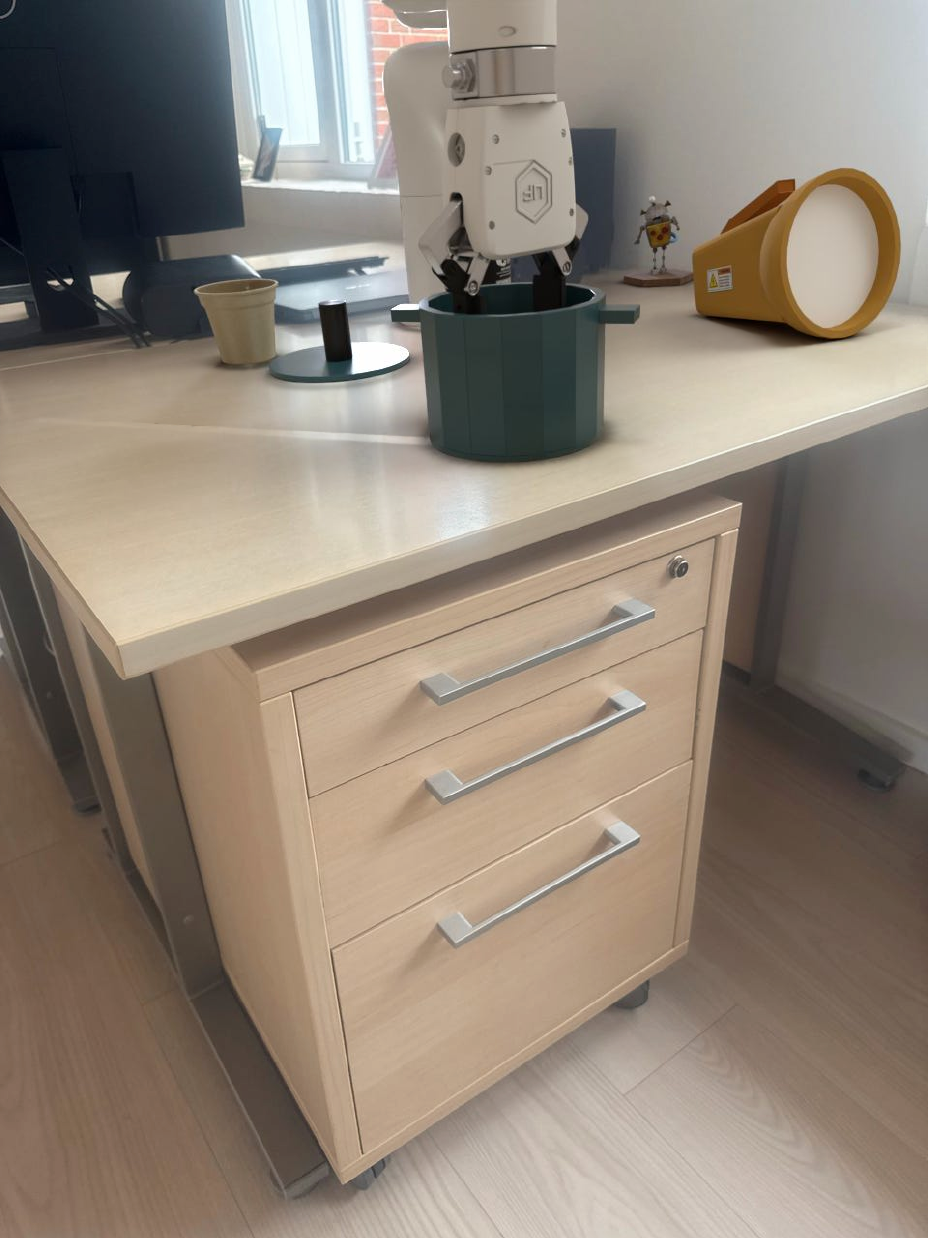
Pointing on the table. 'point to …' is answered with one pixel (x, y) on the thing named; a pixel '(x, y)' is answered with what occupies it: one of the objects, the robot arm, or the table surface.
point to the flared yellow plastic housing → (804, 256)
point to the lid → (338, 353)
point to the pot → (515, 371)
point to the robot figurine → (657, 236)
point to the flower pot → (241, 318)
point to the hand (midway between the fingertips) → (511, 334)
